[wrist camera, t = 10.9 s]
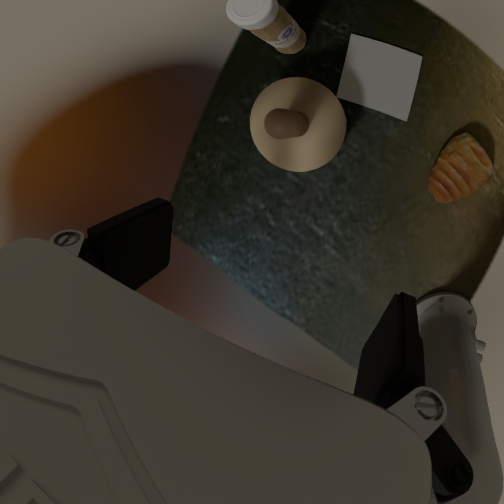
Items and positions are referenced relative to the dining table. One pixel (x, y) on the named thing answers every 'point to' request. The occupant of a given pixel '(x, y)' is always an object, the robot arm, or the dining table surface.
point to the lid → (297, 124)
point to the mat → (379, 76)
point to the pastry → (459, 169)
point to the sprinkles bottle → (268, 23)
